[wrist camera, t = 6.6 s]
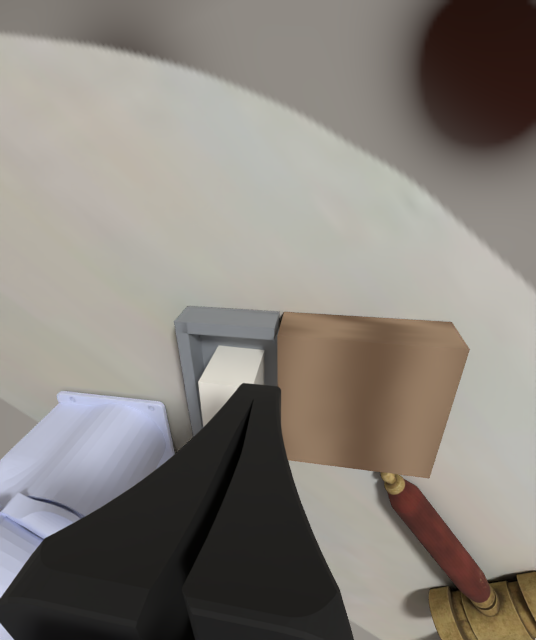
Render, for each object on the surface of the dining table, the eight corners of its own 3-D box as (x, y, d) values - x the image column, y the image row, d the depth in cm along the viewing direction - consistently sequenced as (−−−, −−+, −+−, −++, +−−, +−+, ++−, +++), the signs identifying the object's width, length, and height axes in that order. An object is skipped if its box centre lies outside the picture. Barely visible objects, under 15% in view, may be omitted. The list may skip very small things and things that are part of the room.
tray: (203, 417, 27) (193, 438, 25) (187, 306, 23) (173, 321, 21) (279, 426, 26) (275, 449, 24) (279, 311, 22) (274, 328, 20)
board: (283, 427, 26) (277, 458, 24) (283, 311, 22) (277, 335, 19) (418, 442, 25) (429, 478, 22) (451, 322, 20) (469, 349, 17)
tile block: (264, 396, 25) (221, 390, 25) (264, 349, 23) (218, 345, 23) (253, 438, 21) (203, 431, 22) (251, 388, 19) (198, 381, 20)
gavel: (327, 514, 26) (458, 475, 22) (330, 467, 30) (440, 426, 26) (459, 664, 30) (587, 655, 26) (446, 605, 34) (555, 589, 30)
